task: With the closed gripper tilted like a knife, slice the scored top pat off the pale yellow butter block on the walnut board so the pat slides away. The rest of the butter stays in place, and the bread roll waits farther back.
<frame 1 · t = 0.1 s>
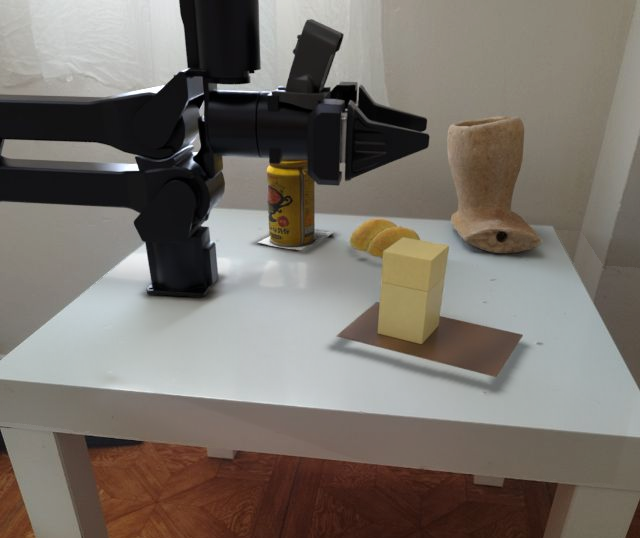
hand: (427, 132, 57), 17 cm above the table, tool horizontal, fingers open, 9 cm apart
butter pat: (413, 278, 55), point 6 cm above the table, touching butter block
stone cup: (481, 240, 84), on the table
butter block: (408, 329, 58), point 1 cm above the table, touching board, butter pat
condiment: (296, 240, 83), on the table
board: (428, 346, 57), on the table
bread roll: (384, 255, 78), on the table
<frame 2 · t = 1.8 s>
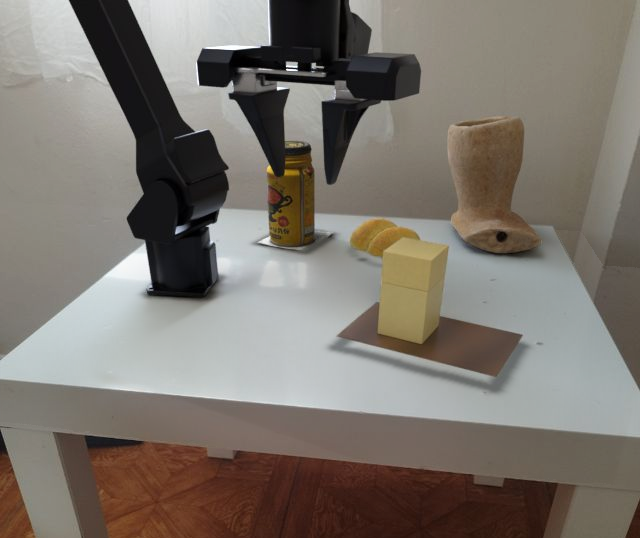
hand: (305, 180, 56), 13 cm above the table, tool pointing down, fingers open, 5 cm apart
nothing on the table moved.
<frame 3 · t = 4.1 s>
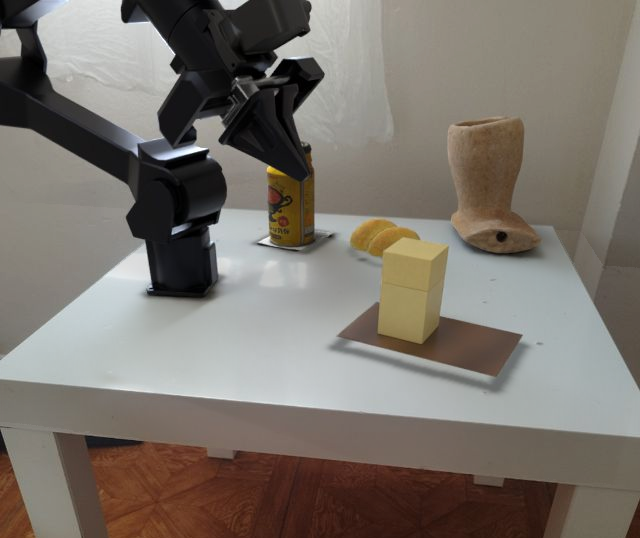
hand: (306, 178, 55), 13 cm above the table, tool tilted 45°, fingers closed
nothing on the table moved.
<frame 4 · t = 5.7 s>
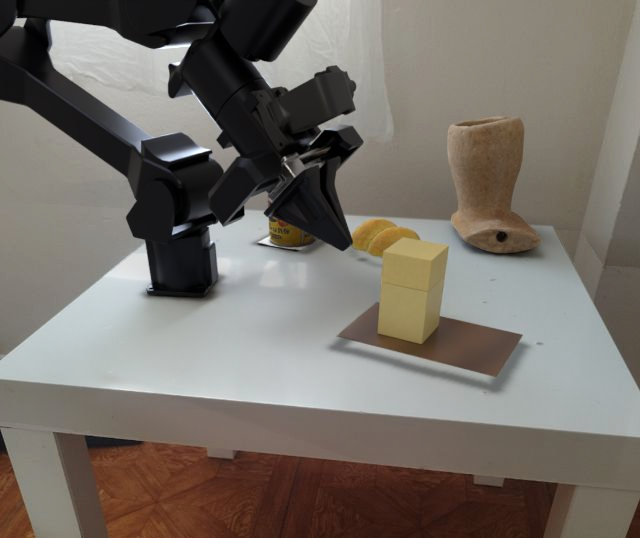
hand: (348, 247, 56), 8 cm above the table, tool tilted 45°, fingers closed
nothing on the table moved.
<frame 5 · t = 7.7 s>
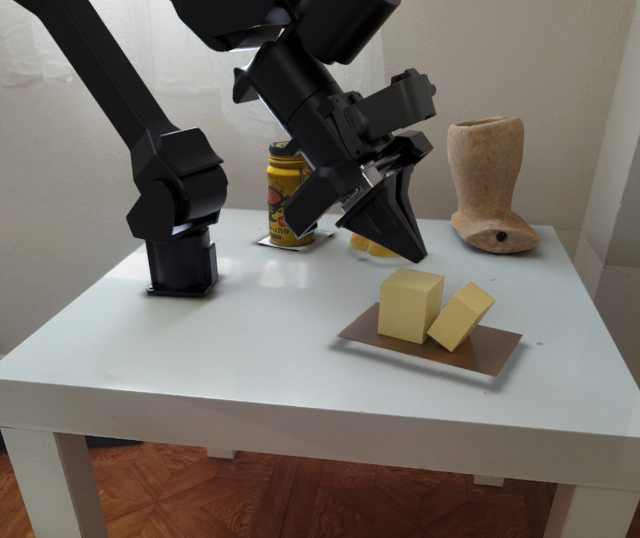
hand: (422, 259, 53), 8 cm above the table, tool tilted 45°, fingers closed
butter pat: (448, 306, 54), point 4 cm above the table, tilted 115°, touching board
butter block: (408, 329, 58), point 1 cm above the table, touching board
everything else where it was.
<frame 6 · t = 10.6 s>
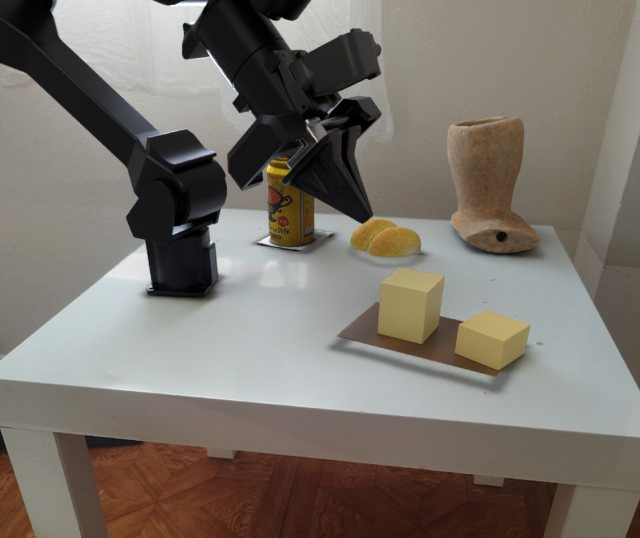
hand: (368, 220, 54), 11 cm above the table, tool tilted 45°, fingers closed
butter pat: (494, 324, 52), point 4 cm above the table, tilted 180°, touching board
everything else where it was.
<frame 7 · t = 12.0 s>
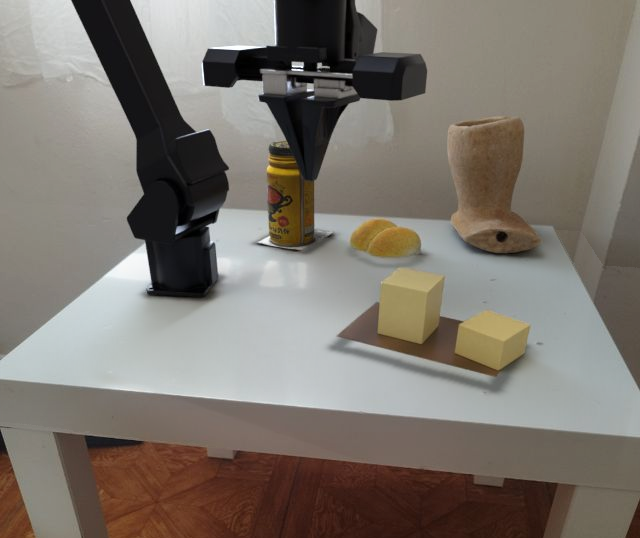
hand: (310, 180, 56), 13 cm above the table, tool pointing down, fingers closed
nothing on the table moved.
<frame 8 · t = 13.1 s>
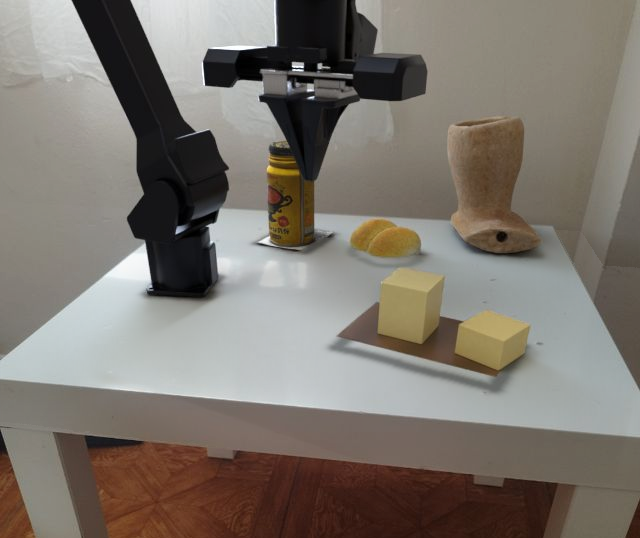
hand: (310, 180, 56), 13 cm above the table, tool pointing down, fingers closed
nothing on the table moved.
at the end: butter pat moved 8.3 cm from its start; butter block moved 0.0 cm from its start; bread roll moved 0.2 cm from its start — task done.
